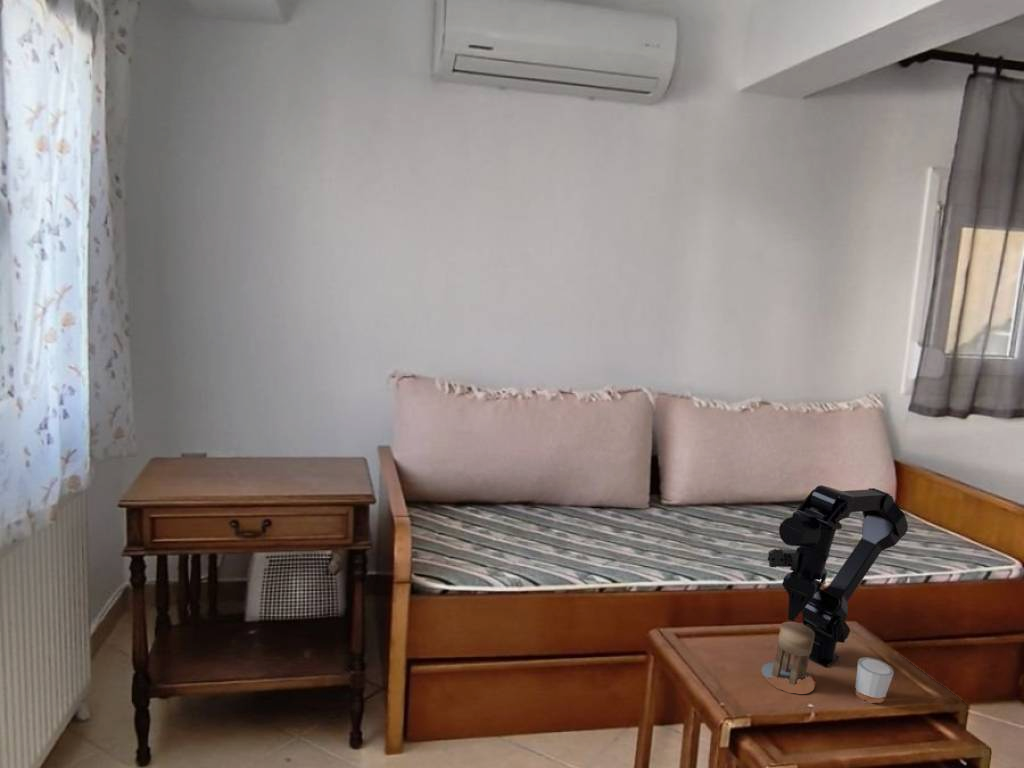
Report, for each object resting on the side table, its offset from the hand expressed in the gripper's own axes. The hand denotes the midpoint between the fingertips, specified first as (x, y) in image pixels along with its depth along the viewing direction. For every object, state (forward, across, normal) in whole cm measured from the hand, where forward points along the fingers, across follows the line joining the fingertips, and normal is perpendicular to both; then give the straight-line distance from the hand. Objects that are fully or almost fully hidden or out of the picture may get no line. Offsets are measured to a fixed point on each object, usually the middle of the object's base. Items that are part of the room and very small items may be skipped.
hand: (794, 615), depth 168 cm
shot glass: (+12, -5, +18) cm, 22 cm away
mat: (+13, 0, +2) cm, 14 cm away
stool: (+13, 0, +2) cm, 13 cm away
